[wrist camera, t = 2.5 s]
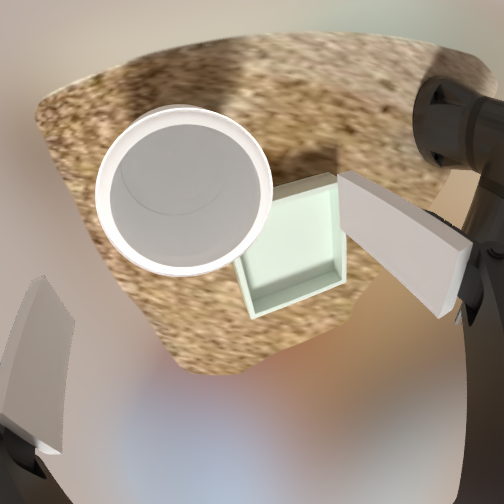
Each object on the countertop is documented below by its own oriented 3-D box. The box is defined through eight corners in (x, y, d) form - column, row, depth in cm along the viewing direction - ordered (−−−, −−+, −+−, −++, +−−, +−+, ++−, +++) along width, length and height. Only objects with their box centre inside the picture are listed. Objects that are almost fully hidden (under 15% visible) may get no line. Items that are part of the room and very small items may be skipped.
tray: (328, 171, 35) (343, 180, 32) (334, 268, 43) (346, 281, 41) (215, 204, 33) (222, 217, 30) (243, 302, 41) (251, 319, 39)
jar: (102, 156, 26) (60, 213, 14) (173, 81, 25) (187, 67, 12) (175, 217, 32) (193, 304, 20) (242, 150, 30) (306, 197, 18)
